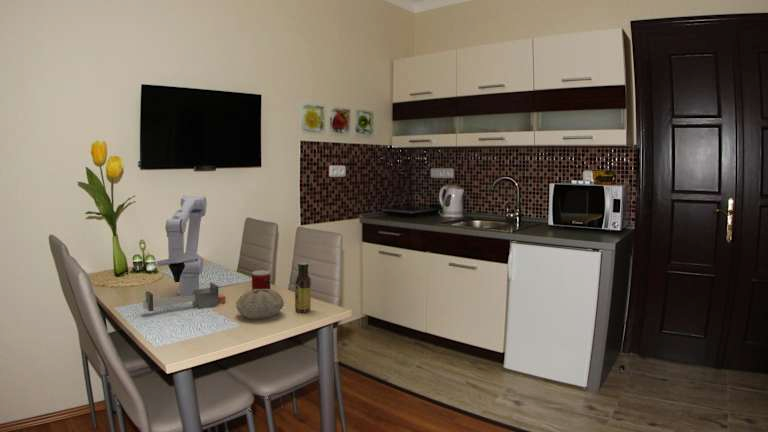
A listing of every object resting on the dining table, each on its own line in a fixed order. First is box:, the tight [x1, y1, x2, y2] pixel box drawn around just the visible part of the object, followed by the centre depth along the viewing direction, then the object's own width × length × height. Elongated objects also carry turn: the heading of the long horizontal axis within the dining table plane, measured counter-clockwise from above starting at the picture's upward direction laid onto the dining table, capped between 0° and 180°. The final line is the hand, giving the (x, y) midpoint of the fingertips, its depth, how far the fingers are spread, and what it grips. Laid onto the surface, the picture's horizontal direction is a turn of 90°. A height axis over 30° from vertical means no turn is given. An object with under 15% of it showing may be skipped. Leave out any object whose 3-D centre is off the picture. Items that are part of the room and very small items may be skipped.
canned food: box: [251, 269, 271, 290], centre depth 212 cm, size 8×8×11 cm
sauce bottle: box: [294, 261, 312, 314], centre depth 193 cm, size 7×6×20 cm
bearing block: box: [192, 282, 220, 310], centre depth 198 cm, size 7×8×8 cm
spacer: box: [218, 293, 227, 305], centre depth 203 cm, size 4×3×3 cm
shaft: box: [142, 291, 197, 312], centre depth 190 cm, size 5×23×6 cm, turn 131°
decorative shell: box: [235, 288, 285, 320], centre depth 187 cm, size 18×18×10 cm
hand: (176, 281), depth 194 cm, fingers closed
